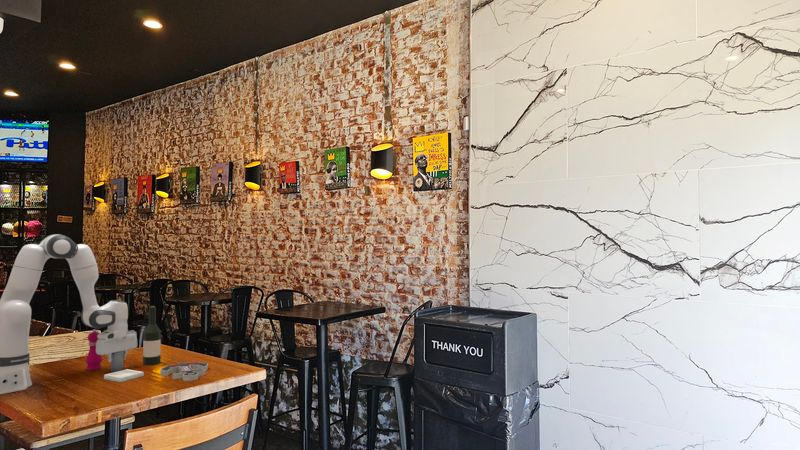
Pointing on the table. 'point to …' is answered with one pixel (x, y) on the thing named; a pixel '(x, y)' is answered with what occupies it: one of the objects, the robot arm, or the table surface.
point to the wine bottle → (152, 340)
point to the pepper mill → (93, 352)
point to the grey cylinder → (117, 361)
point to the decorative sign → (185, 370)
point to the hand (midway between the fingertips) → (117, 360)
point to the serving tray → (123, 375)
